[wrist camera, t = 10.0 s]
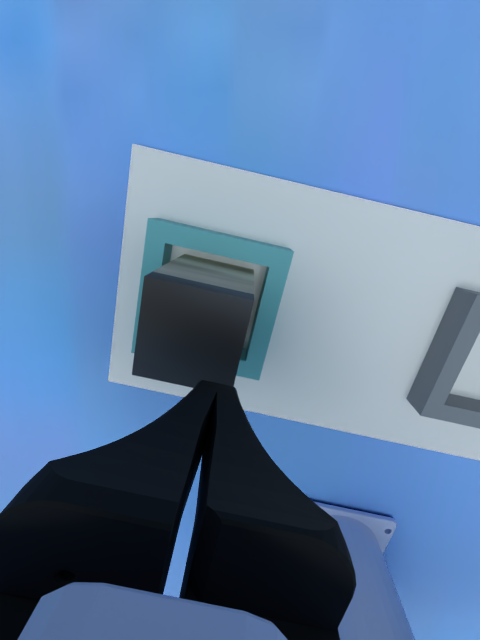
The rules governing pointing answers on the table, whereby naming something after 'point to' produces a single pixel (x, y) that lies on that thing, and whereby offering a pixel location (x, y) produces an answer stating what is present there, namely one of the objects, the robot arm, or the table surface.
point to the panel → (319, 299)
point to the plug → (193, 321)
